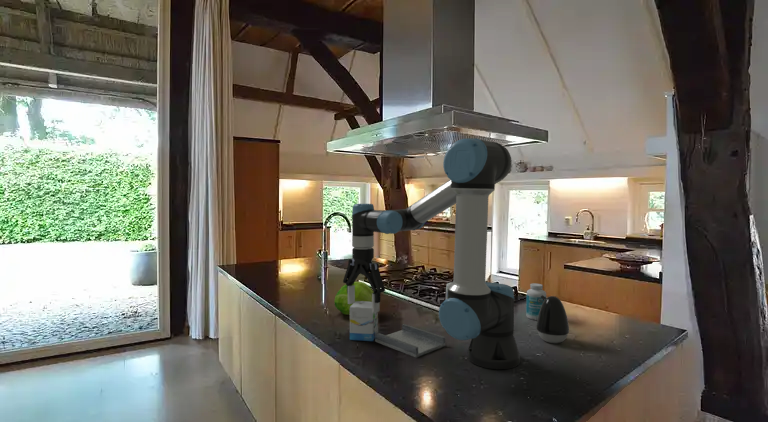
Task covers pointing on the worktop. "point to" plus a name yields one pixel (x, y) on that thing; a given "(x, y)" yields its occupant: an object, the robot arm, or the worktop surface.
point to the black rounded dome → (552, 320)
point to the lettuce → (361, 294)
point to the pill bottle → (534, 300)
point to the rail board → (411, 341)
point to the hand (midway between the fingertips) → (363, 307)
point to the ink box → (363, 321)
